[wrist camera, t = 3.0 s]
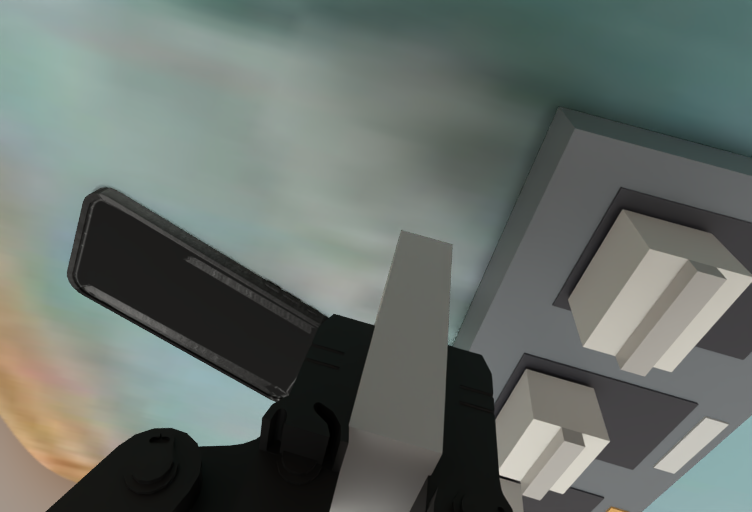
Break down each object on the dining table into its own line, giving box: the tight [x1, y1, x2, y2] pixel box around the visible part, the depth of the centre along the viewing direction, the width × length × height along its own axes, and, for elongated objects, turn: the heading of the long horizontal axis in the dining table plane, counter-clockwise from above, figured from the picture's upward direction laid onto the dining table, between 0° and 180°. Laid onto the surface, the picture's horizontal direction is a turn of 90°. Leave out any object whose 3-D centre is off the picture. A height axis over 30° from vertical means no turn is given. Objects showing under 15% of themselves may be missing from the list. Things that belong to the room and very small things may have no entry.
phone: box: [67, 188, 328, 402], centre depth 25 cm, size 8×1×15 cm
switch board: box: [453, 106, 752, 512], centre depth 21 cm, size 24×12×3 cm, turn 168°
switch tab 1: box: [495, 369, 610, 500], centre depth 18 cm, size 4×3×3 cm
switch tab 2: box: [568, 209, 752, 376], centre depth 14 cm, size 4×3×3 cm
